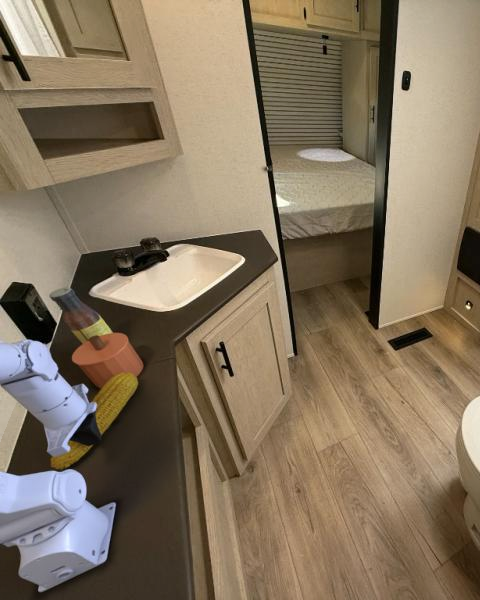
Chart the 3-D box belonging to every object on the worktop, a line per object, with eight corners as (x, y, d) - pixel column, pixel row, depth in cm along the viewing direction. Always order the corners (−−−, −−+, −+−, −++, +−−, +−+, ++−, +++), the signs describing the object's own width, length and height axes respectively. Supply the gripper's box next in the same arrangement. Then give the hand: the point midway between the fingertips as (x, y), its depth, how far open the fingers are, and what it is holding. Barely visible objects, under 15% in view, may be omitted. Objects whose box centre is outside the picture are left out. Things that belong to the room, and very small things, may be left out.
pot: (141, 379, 78) (124, 355, 73) (91, 395, 74) (69, 370, 69) (145, 354, 85) (129, 330, 80) (99, 367, 81) (80, 342, 76)
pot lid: (126, 357, 73) (117, 345, 71) (69, 374, 69) (57, 361, 67) (132, 331, 81) (124, 318, 78) (80, 344, 77) (70, 331, 74)
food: (123, 385, 77) (110, 369, 73) (147, 384, 77) (135, 368, 74) (51, 475, 60) (30, 459, 56) (82, 474, 60) (63, 457, 57)
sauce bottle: (126, 341, 89) (86, 282, 77) (116, 357, 84) (71, 297, 72) (99, 345, 88) (54, 285, 76) (87, 362, 83) (37, 300, 71)
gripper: (69, 422, 51) (113, 465, 59) (89, 362, 61) (125, 405, 69) (9, 442, 48) (64, 484, 56) (41, 375, 58) (84, 419, 66)
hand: (95, 441), depth 62 cm, fingers closed
